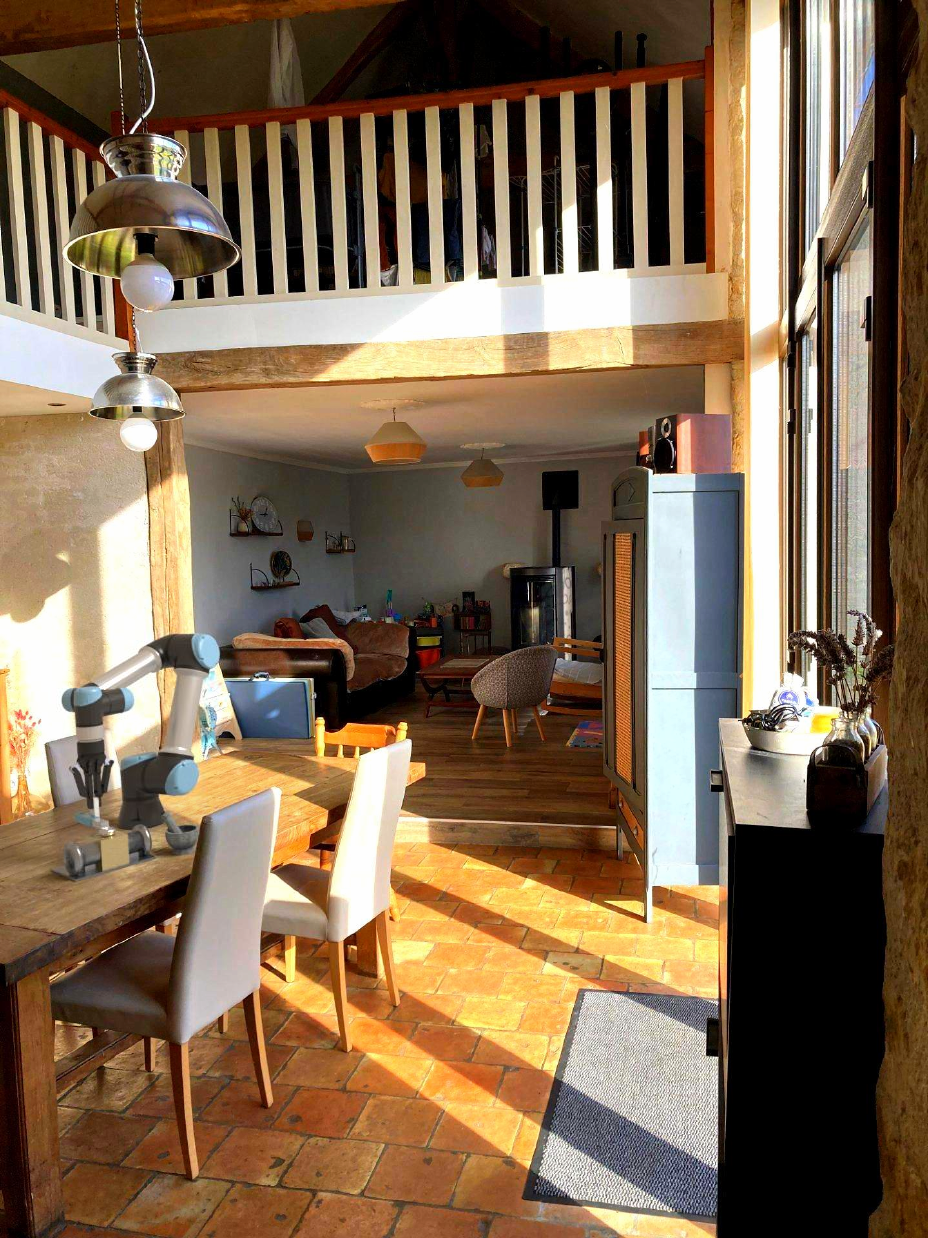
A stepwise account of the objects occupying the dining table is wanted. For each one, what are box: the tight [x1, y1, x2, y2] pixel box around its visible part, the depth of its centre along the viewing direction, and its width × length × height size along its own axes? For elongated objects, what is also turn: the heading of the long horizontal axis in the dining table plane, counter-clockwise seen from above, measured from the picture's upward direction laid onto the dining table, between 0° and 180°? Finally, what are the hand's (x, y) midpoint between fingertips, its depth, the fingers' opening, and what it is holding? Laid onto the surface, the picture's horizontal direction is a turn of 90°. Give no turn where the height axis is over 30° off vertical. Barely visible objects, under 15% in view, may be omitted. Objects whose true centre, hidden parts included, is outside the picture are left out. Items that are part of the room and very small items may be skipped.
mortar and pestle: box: [161, 811, 200, 856], centre depth 275 cm, size 11×9×12 cm
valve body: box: [50, 824, 157, 882], centre depth 266 cm, size 24×15×10 cm, turn 138°
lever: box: [74, 811, 116, 837], centre depth 268 cm, size 4×20×4 cm, turn 48°
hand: (95, 819), depth 272 cm, fingers closed
